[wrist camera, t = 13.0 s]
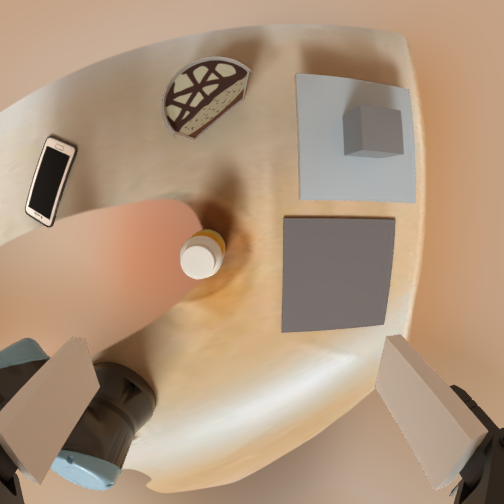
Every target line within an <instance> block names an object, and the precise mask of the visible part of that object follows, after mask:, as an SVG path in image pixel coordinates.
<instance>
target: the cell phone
mask: <svg viewBox="0 0 504 504" xmlns="http://www.w3.org/2000/svg"><path fill="white" fill-rule="evenodd" d="M50 137H51V138H50ZM76 154H77V147H76V146H74V145H72V144H70V143H68V142H65V141H62V140H61V139H58V138H56V137H53V136H49V137H48V138H47V139H46V141H45V144H44V147H43V149H42V152H41V155H40V158H39V161H38V164H37V167H36V170H35V173H34V176H33V180H32V183H31V187H30V190H29V194H28V198H27V202H26V206H25V212H26V214H27V215H29V216H30V217H32V218H33V219H35V220H36V221H38V222H40V223H41V224H43V225H44V226H46V227H52V226H53V224H54V221H55V217H56V212H57V208H58V205H59V201H60V200H61V197H62V194H63V191H64V187H65V184H66V181H67V178H68V176H69V173H70V170H71V167H72V164H73V162H74V159H75V157H76Z"/></svg>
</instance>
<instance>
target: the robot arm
mask: <svg viewBox="0 0 504 504" xmlns="http://www.w3.org/2000/svg"><path fill="white" fill-rule="evenodd" d="M375 388H376V389H377V391H378V393H379V394H380V396H381V398H382V399H383V401H384V403H385V404H386V406H387V408H388V410H389V411H390V413H391V414H392V416H393V418H394V420H395V421H396V423H397V425H398V426H399V428H400V430H401V432H402V434H403V435H404V437H405V439H406V440H407V442H408V444H409V446H410V447H411V449H412V451H413V453H414V455H415V456H416V458H417V460H418V462H419V464H420V465H421V467H422V469H423V471H424V473H425V474H426V476H427V478H428V480H429V482H430V484H431V485H432V487H433V489H434V491H436V490H438V489H440V488H442V487H444V486H446V485H448V484H451V483H452V482H453V480H454V479H455V478H456V477H457V476H458V474H459V473H460V475H461V477H462V480H461V481H460V482H459V483H458V485H457V486H456V487H455V488H454V489H453V490H452V492H451V494H450V496H452V495H453V494H454V493H455V492H456V491H457V494H456V497H455V501H454V504H504V428H501V429H499V428H498V427H497V426H496V425H495V424H494V423H493V421H492V420H491V419H490V418H489V417H488V416H487V415H486V414H485V412H484V411H483V410H482V409H481V408H480V407H479V406H477V404H476V402H475V401H474V400H472V398H471V397H470V396H469V395H468V394H467V393H466V392H465V391H464V390H462V389H461V388H459V387H457V386H455V385H452V386H449V385H448V384H447V383H446V382H445V381H444V380H443V379H442V378H441V377H440V376H439V375H438V373H437V372H436V371H435V370H434V369H433V368H432V367H431V366H430V365H429V364H428V363H427V362H426V361H425V359H423V357H422V356H421V355H420V354H419V353H418V352H417V351H416V350H415V349H414V348H413V347H412V346H411V345H410V344H409V343H408V342H407V341H406V340H405V339H404V337H403V336H402V335H394V336H387V337H386V339H385V344H384V349H383V353H382V358H381V362H380V366H379V371H378V375H377V379H376V383H375ZM155 405H156V401H155V397H154V394H153V392H152V390H151V388H150V387H149V385H148V384H147V383H146V382H145V381H144V380H143V379H142V378H141V377H140V376H139V375H137V374H136V373H135V372H133V371H132V370H130V369H128V368H126V367H124V366H121V365H118V364H114V363H99V364H96V365H95V366H93V364H92V360H91V357H90V354H89V350H88V347H87V343H86V339H85V338H77V337H72V338H71V339H70V340H69V341H67V342H66V343H65V344H64V345H63V346H62V347H61V348H60V349H59V350H58V351H57V352H56V353H55V354H54V355H53V356H52V357H51V358H50V357H49V356H47V354H46V353H45V352H44V351H43V349H42V348H41V347H40V345H39V344H38V343H37V342H36V341H35V340H33V339H31V338H24V339H22V340H20V341H18V342H15V343H13V344H12V345H10V346H8V347H7V348H5V349H3V350H1V351H0V504H24V500H23V496H22V492H21V487H20V482H19V478H18V476H17V474H16V473H15V472H16V470H17V469H19V470H20V471H21V473H22V474H23V475H24V476H25V478H27V479H29V480H31V481H33V482H35V483H37V484H39V485H41V483H42V481H43V479H44V478H45V476H46V474H47V472H48V471H49V469H50V468H51V469H52V470H53V471H55V472H56V473H57V474H59V475H60V476H62V477H63V478H65V479H67V480H68V481H70V482H72V483H75V484H77V485H79V486H82V487H85V488H89V489H93V490H108V489H110V488H112V487H113V486H114V484H115V483H116V481H117V479H118V477H119V475H120V474H121V469H122V467H123V464H124V461H125V458H126V456H127V453H128V451H129V448H130V445H131V443H132V440H133V437H134V435H135V433H136V432H137V431H138V430H139V429H140V428H141V427H142V426H143V425H144V424H145V423H146V422H148V421H149V420H150V418H151V417H152V415H153V412H154V409H155Z"/></svg>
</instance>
